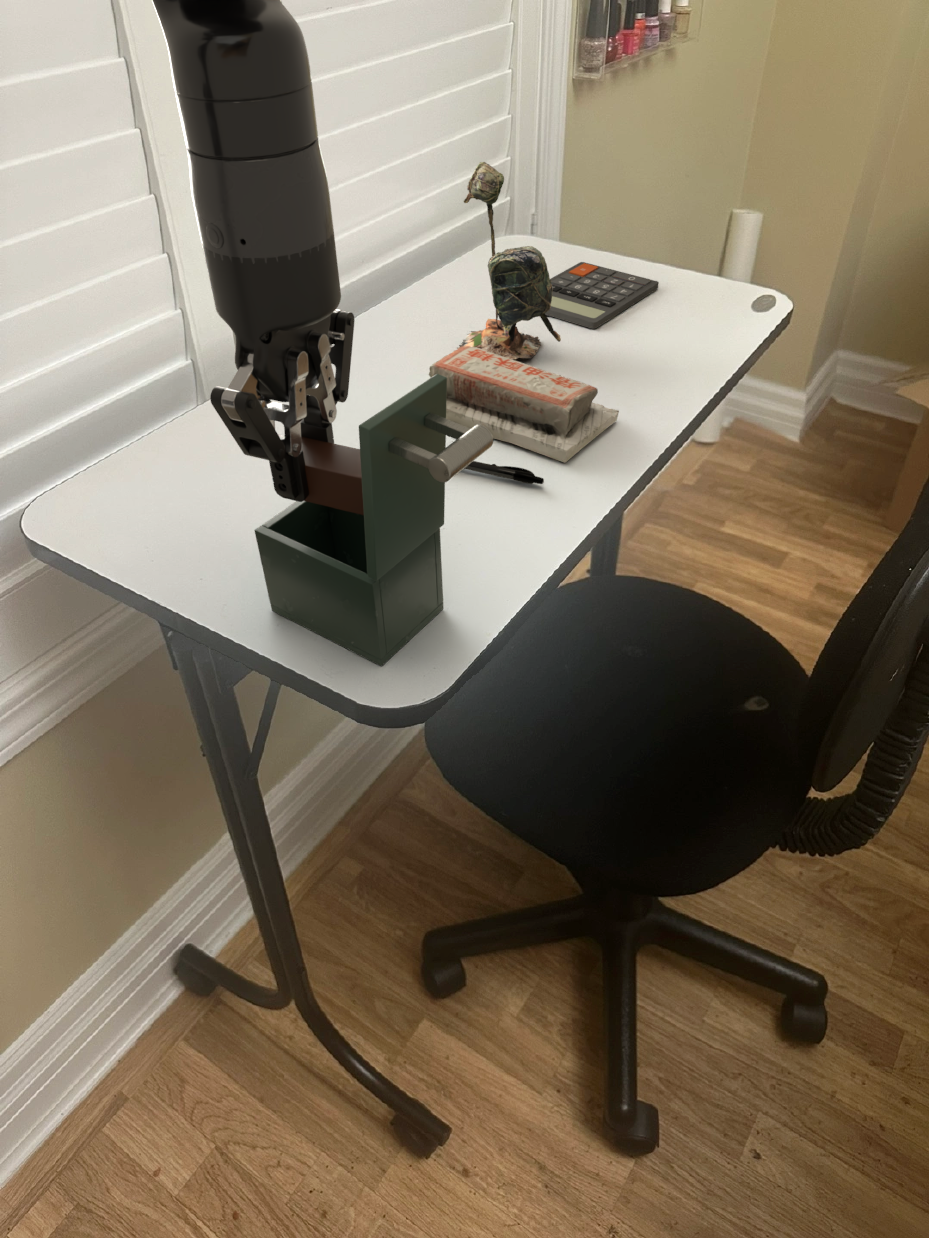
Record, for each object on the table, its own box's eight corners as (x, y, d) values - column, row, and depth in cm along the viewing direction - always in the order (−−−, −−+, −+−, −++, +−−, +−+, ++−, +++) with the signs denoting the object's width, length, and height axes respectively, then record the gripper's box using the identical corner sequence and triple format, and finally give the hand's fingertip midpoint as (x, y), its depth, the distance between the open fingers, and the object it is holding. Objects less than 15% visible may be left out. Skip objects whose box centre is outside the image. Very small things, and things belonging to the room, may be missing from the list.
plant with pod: (534, 378, 97) (542, 179, 83) (447, 354, 102) (440, 161, 88) (570, 349, 102) (583, 157, 88) (485, 327, 107) (485, 141, 93)
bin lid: (358, 425, 52) (434, 458, 49) (436, 373, 56) (509, 401, 54) (366, 576, 60) (432, 610, 57) (435, 520, 64) (498, 549, 62)
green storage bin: (271, 610, 70) (254, 529, 64) (336, 559, 74) (325, 480, 69) (381, 666, 65) (372, 584, 60) (444, 608, 69) (440, 527, 64)
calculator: (660, 280, 113) (594, 321, 105) (659, 287, 114) (594, 329, 105) (581, 260, 119) (513, 297, 110) (581, 267, 119) (513, 305, 111)
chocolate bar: (304, 472, 65) (298, 435, 63) (398, 493, 63) (395, 456, 61) (280, 495, 63) (273, 458, 61) (377, 519, 60) (373, 481, 58)
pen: (547, 480, 82) (547, 469, 81) (540, 490, 81) (541, 479, 80) (409, 449, 86) (408, 439, 86) (401, 458, 85) (400, 448, 84)
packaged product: (412, 367, 89) (472, 331, 95) (415, 411, 92) (473, 374, 98) (569, 420, 81) (624, 377, 86) (566, 466, 84) (619, 422, 90)
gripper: (254, 283, 46) (302, 553, 57) (381, 197, 55) (400, 443, 67) (134, 263, 48) (204, 527, 60) (276, 184, 57) (312, 424, 69)
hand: (308, 481), depth 63 cm, fingers closed on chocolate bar, 3 cm apart
